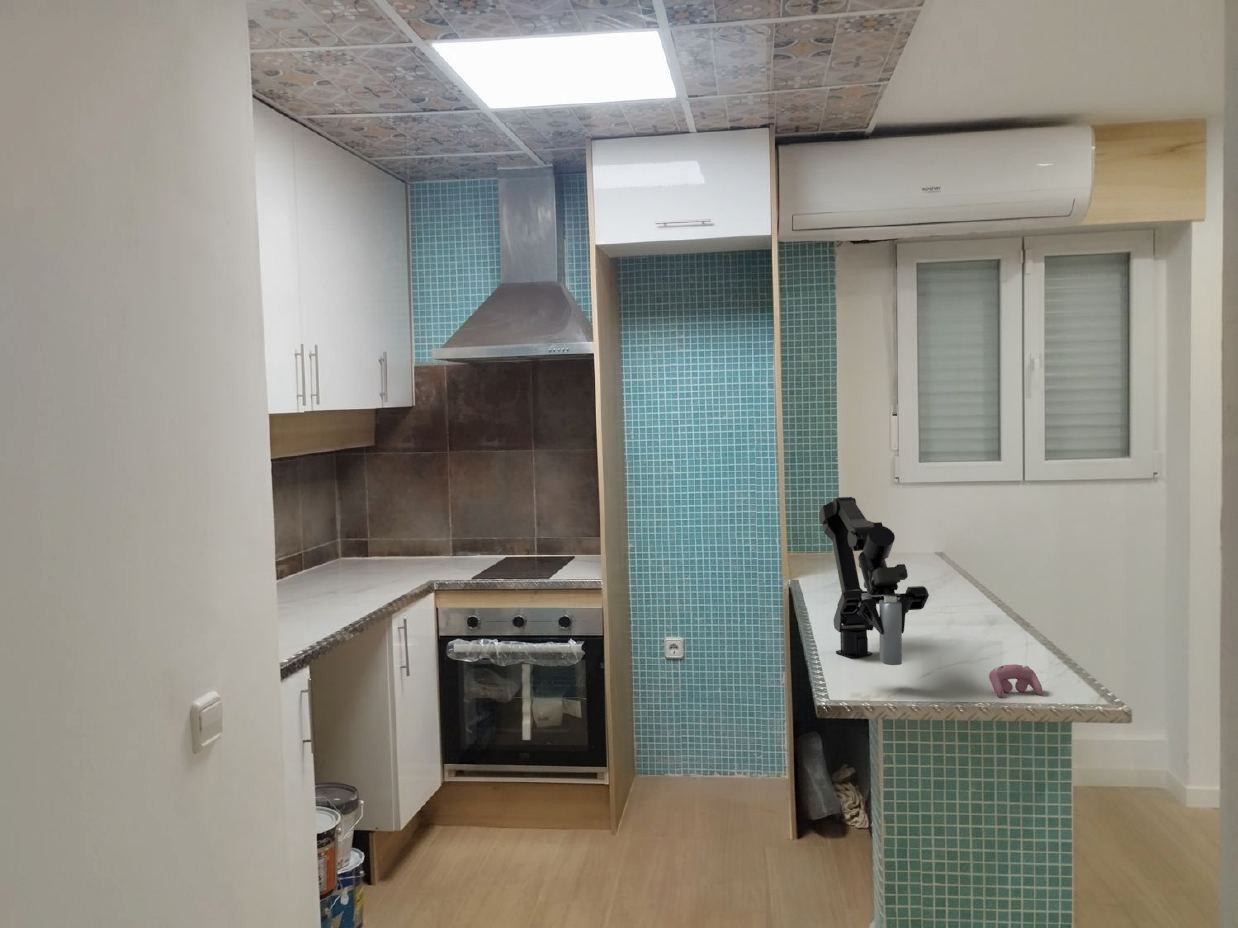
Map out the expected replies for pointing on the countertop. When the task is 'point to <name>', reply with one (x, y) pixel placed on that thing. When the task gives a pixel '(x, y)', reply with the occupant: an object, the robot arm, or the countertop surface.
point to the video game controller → (1014, 671)
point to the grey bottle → (891, 630)
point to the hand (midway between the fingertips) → (892, 632)
